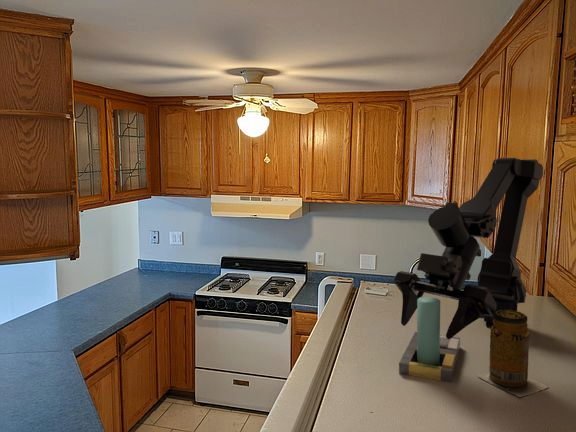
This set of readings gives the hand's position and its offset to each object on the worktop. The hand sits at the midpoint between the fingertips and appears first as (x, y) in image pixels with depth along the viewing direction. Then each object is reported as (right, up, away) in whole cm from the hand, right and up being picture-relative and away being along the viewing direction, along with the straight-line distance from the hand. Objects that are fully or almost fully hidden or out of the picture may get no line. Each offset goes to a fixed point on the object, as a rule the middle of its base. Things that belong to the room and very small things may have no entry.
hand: (424, 331), depth 83 cm
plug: (+1, -7, +2) cm, 8 cm away
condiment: (+14, -8, -4) cm, 17 cm away
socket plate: (+3, -7, +5) cm, 9 cm away
